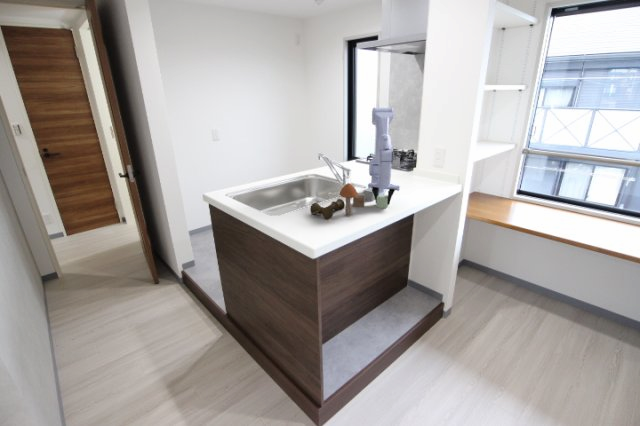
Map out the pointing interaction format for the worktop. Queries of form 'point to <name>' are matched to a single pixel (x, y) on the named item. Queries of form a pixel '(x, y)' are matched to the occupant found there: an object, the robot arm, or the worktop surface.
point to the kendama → (327, 208)
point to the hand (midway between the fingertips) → (382, 203)
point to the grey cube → (369, 194)
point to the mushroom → (348, 196)
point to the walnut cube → (359, 200)
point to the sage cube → (382, 201)
